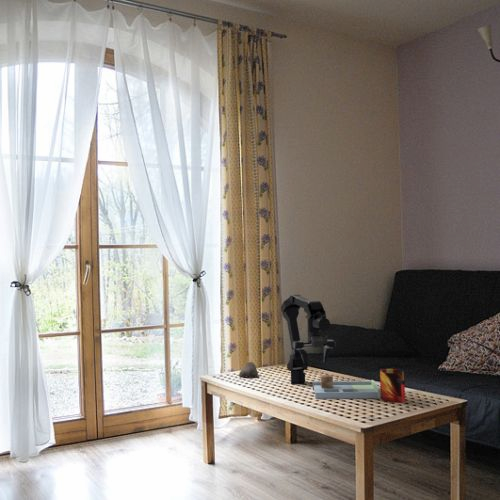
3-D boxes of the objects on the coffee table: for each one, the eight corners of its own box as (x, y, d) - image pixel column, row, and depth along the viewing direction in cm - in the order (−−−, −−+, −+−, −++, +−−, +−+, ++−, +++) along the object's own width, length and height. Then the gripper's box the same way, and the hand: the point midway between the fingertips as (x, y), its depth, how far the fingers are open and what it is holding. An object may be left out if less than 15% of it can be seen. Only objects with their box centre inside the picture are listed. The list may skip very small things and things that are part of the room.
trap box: (315, 398, 255) (315, 389, 255) (312, 389, 273) (312, 380, 273) (380, 398, 253) (380, 388, 253) (373, 388, 272) (373, 379, 272)
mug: (404, 405, 241) (403, 375, 241) (375, 399, 251) (375, 371, 251) (417, 401, 247) (416, 372, 247) (389, 395, 258) (388, 368, 258)
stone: (250, 386, 299) (263, 371, 301) (237, 374, 299) (251, 359, 301) (247, 385, 308) (260, 370, 311) (235, 373, 308) (248, 359, 311)
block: (321, 388, 265) (321, 377, 265) (320, 385, 270) (320, 374, 270) (333, 388, 265) (332, 377, 265) (331, 385, 270) (331, 374, 270)
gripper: (297, 331, 261) (297, 367, 261) (338, 330, 263) (339, 365, 263) (292, 328, 272) (293, 362, 272) (332, 327, 274) (332, 361, 274)
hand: (314, 363), depth 270 cm, fingers open, 9 cm apart
